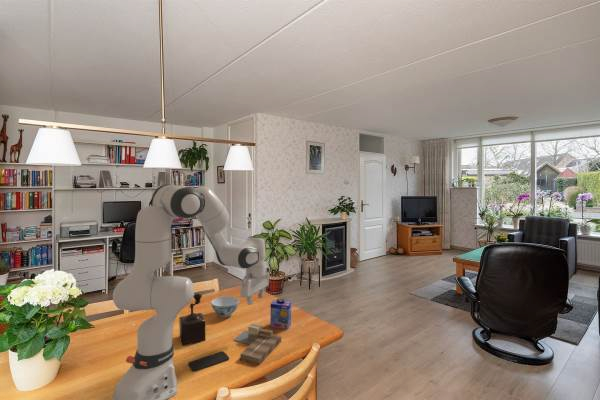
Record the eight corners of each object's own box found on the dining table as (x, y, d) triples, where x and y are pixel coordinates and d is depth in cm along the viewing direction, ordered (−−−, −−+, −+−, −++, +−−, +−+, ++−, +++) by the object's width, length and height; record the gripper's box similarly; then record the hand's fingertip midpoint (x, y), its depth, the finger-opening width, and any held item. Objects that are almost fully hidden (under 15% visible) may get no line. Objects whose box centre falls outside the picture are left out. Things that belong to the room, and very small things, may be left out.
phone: (187, 362, 120) (223, 350, 129) (187, 364, 120) (223, 352, 129) (192, 371, 114) (230, 358, 123) (192, 373, 114) (230, 360, 123)
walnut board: (259, 364, 120) (259, 358, 120) (240, 359, 123) (240, 353, 123) (281, 341, 138) (281, 336, 138) (263, 337, 142) (264, 332, 142)
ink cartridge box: (269, 327, 152) (270, 299, 152) (272, 322, 158) (273, 295, 157) (288, 329, 150) (289, 300, 150) (291, 324, 156) (291, 297, 155)
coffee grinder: (207, 340, 138) (207, 302, 138) (181, 346, 133) (181, 306, 132) (201, 326, 152) (201, 291, 151) (177, 331, 147) (177, 294, 146)
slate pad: (254, 345, 134) (254, 344, 134) (233, 340, 139) (233, 339, 139) (265, 335, 144) (265, 334, 144) (245, 331, 148) (245, 330, 148)
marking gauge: (269, 344, 135) (269, 331, 135) (248, 339, 139) (248, 326, 139) (273, 340, 139) (273, 327, 138) (252, 335, 143) (252, 323, 142)
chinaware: (244, 314, 167) (244, 300, 167) (221, 323, 156) (221, 308, 156) (228, 307, 177) (228, 294, 177) (205, 314, 166) (205, 301, 166)
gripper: (249, 277, 128) (249, 309, 128) (271, 267, 147) (271, 295, 147) (237, 275, 130) (236, 307, 131) (260, 265, 149) (260, 293, 150)
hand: (255, 300), depth 139 cm, fingers open, 8 cm apart
